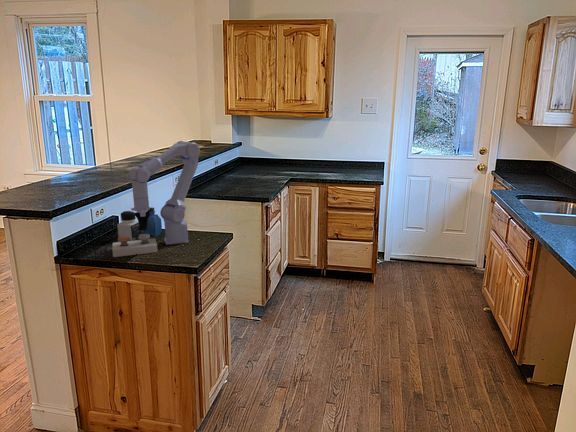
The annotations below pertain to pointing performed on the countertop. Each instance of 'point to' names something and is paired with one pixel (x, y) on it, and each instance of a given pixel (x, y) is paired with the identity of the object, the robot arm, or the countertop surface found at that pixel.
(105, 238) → the countertop surface
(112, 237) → the countertop surface
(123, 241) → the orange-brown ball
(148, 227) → the perfume bottle
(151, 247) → the panel
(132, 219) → the medicine bottle
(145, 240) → the grey button
